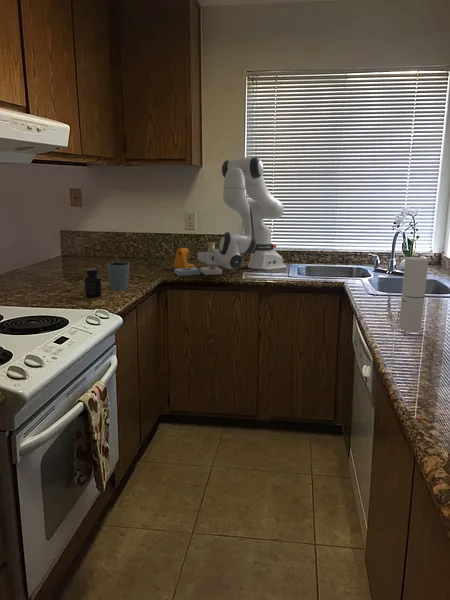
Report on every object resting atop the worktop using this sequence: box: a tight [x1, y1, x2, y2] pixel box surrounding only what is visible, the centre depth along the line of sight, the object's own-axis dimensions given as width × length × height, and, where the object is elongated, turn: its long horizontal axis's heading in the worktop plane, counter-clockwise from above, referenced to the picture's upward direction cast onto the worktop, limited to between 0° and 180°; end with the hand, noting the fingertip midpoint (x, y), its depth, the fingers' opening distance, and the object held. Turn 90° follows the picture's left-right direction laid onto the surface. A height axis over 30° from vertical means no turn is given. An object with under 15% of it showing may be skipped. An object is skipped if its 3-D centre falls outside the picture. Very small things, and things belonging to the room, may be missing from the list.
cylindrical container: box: [398, 256, 429, 332], centre depth 165 cm, size 7×7×25 cm
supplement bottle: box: [83, 267, 103, 299], centre depth 212 cm, size 7×7×12 cm
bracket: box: [173, 247, 196, 269], centre depth 280 cm, size 11×7×12 cm, turn 40°
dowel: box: [207, 242, 216, 269], centre depth 267 cm, size 4×4×14 cm
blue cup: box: [106, 261, 130, 292], centre depth 228 cm, size 10×10×12 cm
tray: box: [200, 266, 223, 276], centre depth 269 cm, size 9×9×3 cm
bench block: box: [173, 266, 201, 277], centre depth 266 cm, size 12×8×2 cm, turn 110°
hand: (210, 253), depth 267 cm, fingers closed on dowel, 4 cm apart
